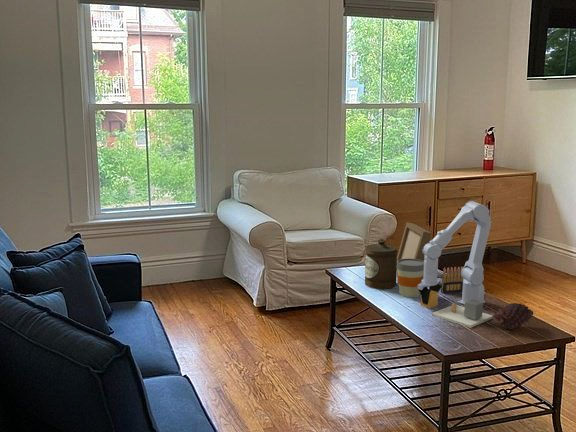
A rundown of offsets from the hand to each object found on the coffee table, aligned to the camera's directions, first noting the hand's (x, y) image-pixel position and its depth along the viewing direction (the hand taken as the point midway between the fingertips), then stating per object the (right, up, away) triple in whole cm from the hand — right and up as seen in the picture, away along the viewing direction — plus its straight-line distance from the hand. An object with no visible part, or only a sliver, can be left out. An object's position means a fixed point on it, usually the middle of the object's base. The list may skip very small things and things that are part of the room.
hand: (429, 302), depth 261 cm
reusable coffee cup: (-5, +1, +15) cm, 16 cm away
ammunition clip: (+15, +2, +18) cm, 23 cm away
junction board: (+10, -4, -13) cm, 17 cm away
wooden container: (-16, +4, +29) cm, 34 cm away
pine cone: (+27, -7, -25) cm, 37 cm away
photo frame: (+3, +7, +43) cm, 44 cm away
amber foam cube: (0, -1, 0) cm, 1 cm away
